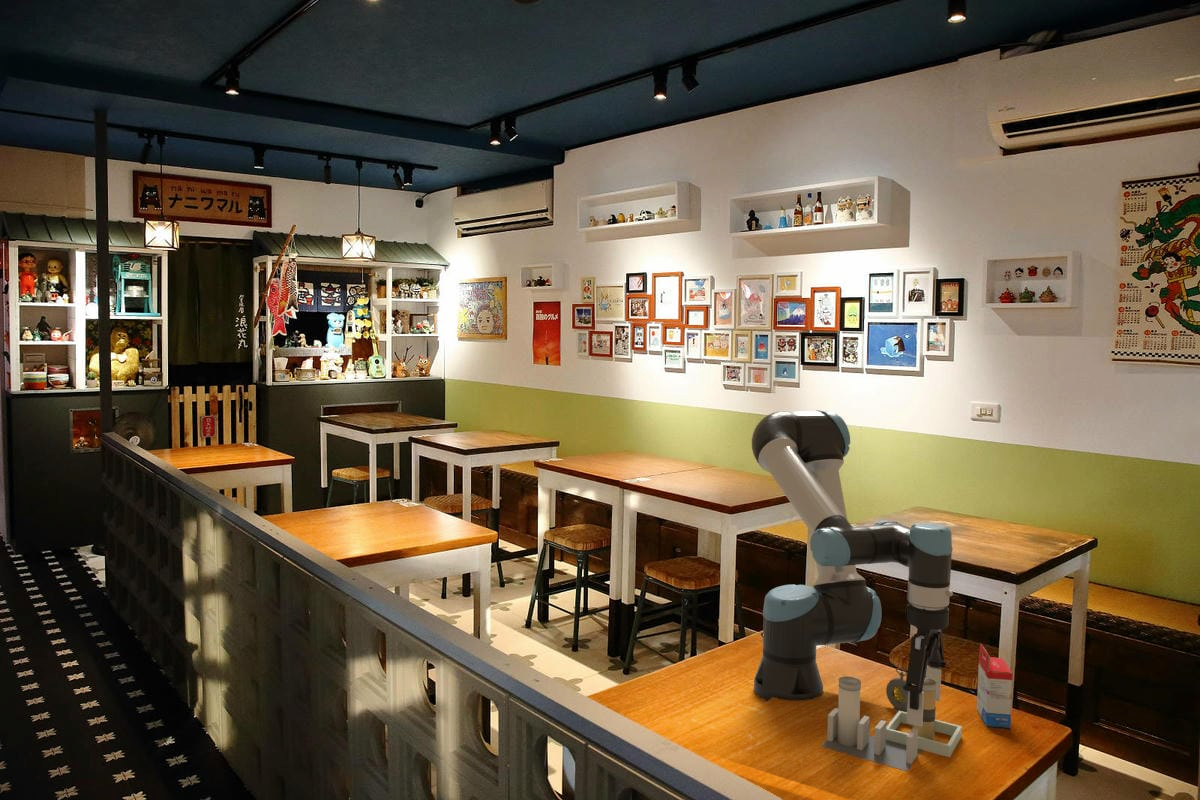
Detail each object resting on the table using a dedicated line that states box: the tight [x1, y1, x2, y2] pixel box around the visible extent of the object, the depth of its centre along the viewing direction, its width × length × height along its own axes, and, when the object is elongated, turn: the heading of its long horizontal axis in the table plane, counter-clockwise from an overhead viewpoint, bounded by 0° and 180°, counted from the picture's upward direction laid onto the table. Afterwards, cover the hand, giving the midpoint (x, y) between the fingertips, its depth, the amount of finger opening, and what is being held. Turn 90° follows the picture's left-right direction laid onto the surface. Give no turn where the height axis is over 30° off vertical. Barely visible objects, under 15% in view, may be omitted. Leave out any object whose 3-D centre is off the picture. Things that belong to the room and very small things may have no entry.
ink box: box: [976, 643, 1014, 729], centre depth 176 cm, size 8×5×15 cm, turn 168°
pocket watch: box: [885, 667, 908, 712], centre depth 179 cm, size 8×8×10 cm
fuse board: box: [821, 707, 923, 772], centre depth 160 cm, size 16×10×6 cm, turn 55°
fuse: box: [837, 676, 862, 746], centre depth 162 cm, size 4×4×12 cm
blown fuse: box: [912, 677, 937, 741], centre depth 164 cm, size 4×4×12 cm
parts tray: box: [886, 710, 963, 758], centre depth 164 cm, size 12×10×4 cm
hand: (923, 711), depth 164 cm, fingers open, 13 cm apart
